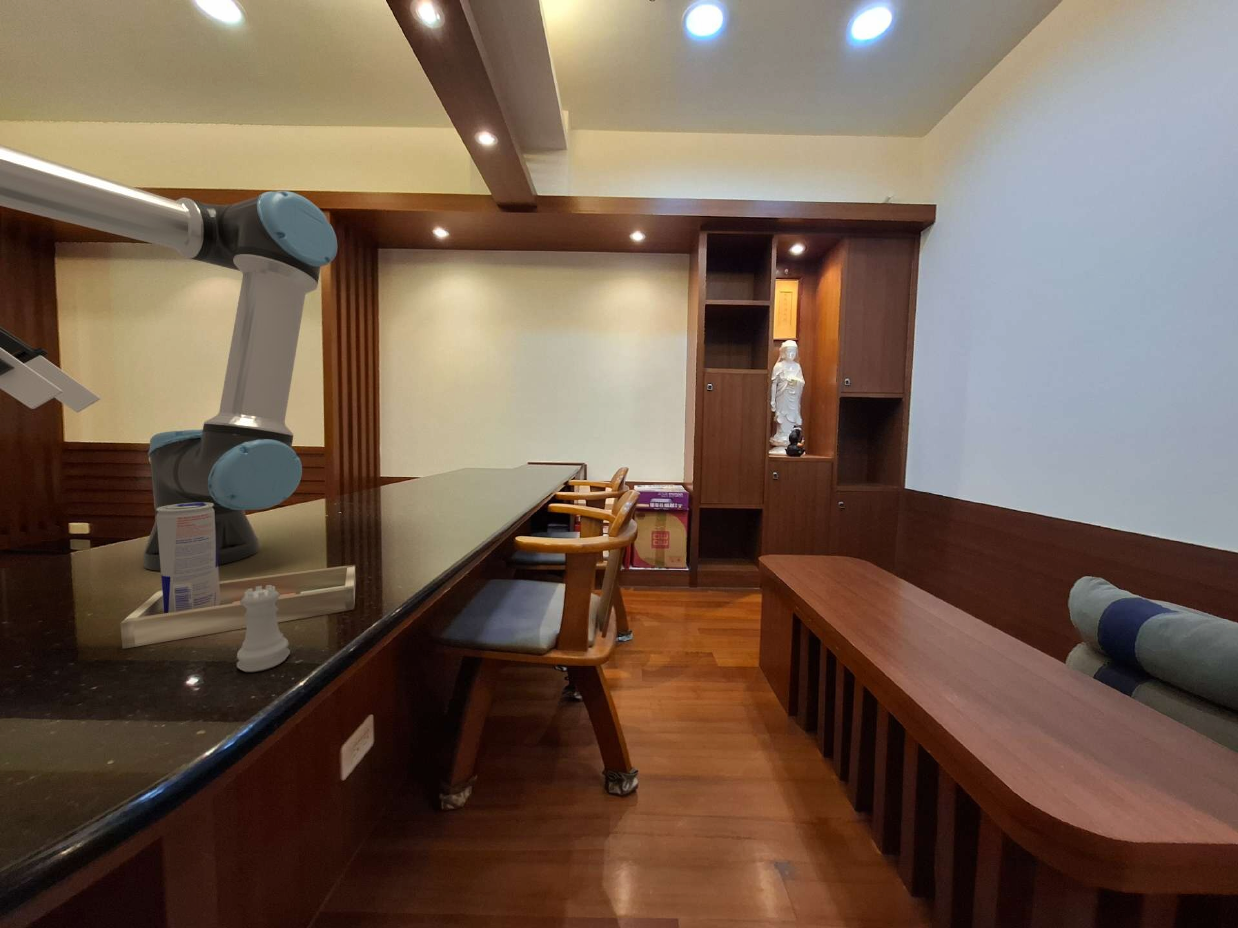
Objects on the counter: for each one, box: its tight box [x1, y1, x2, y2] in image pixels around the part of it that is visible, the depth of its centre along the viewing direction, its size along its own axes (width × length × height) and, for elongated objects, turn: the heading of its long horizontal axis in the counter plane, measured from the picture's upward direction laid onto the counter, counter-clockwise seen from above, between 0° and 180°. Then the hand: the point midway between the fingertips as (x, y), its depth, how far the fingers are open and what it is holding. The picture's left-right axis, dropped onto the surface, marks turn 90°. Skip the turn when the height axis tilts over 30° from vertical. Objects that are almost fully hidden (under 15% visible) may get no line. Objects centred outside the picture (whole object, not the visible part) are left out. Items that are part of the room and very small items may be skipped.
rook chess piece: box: [236, 585, 291, 673], centre depth 46 cm, size 4×4×8 cm
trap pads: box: [231, 593, 296, 604], centre depth 58 cm, size 8×7×1 cm
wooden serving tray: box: [120, 564, 357, 650], centre depth 58 cm, size 11×22×3 cm, turn 120°
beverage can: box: [156, 503, 221, 613], centre depth 54 cm, size 5×5×15 cm
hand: (71, 403), depth 49 cm, fingers open, 13 cm apart
